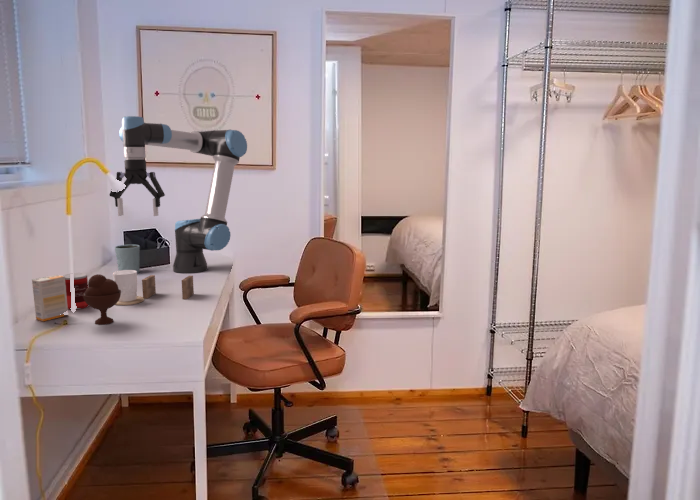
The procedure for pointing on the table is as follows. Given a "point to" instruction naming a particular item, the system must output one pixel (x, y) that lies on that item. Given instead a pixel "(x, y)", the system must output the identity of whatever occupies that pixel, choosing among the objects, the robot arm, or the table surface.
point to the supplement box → (49, 297)
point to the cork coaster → (138, 300)
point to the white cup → (126, 284)
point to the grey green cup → (128, 257)
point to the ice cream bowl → (102, 296)
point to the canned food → (77, 289)
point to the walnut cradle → (150, 288)
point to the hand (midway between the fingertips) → (138, 215)
